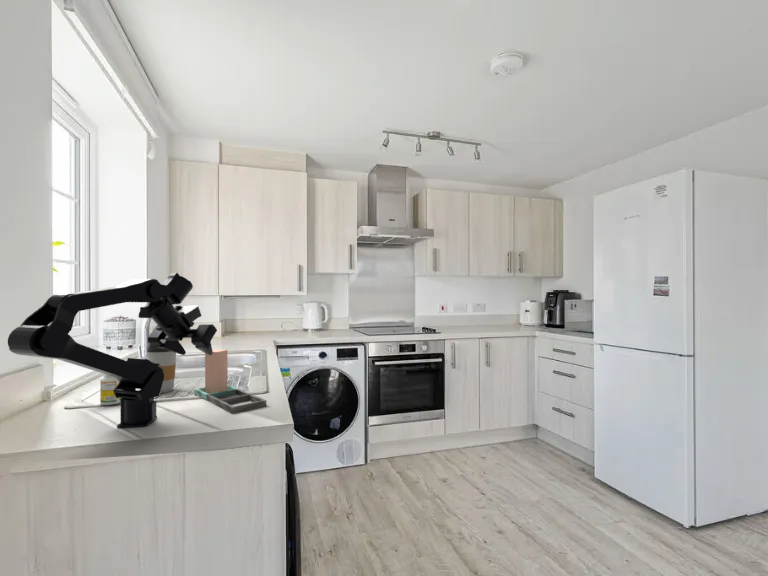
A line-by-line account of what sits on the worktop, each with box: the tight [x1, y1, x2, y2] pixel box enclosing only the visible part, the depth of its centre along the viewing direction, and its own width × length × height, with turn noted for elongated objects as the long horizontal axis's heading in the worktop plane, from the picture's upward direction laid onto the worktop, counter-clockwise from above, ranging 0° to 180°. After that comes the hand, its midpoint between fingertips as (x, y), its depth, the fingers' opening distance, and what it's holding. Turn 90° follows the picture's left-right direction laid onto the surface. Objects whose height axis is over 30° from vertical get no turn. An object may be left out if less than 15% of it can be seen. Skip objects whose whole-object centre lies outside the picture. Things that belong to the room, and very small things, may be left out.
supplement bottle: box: [99, 374, 122, 406], centre depth 114 cm, size 5×5×10 cm
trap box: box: [194, 384, 267, 414], centre depth 117 cm, size 27×10×2 cm, turn 44°
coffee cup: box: [146, 343, 177, 394], centre depth 127 cm, size 8×8×15 cm
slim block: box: [204, 348, 229, 394], centre depth 123 cm, size 4×4×13 cm
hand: (197, 353), depth 115 cm, fingers open, 9 cm apart
